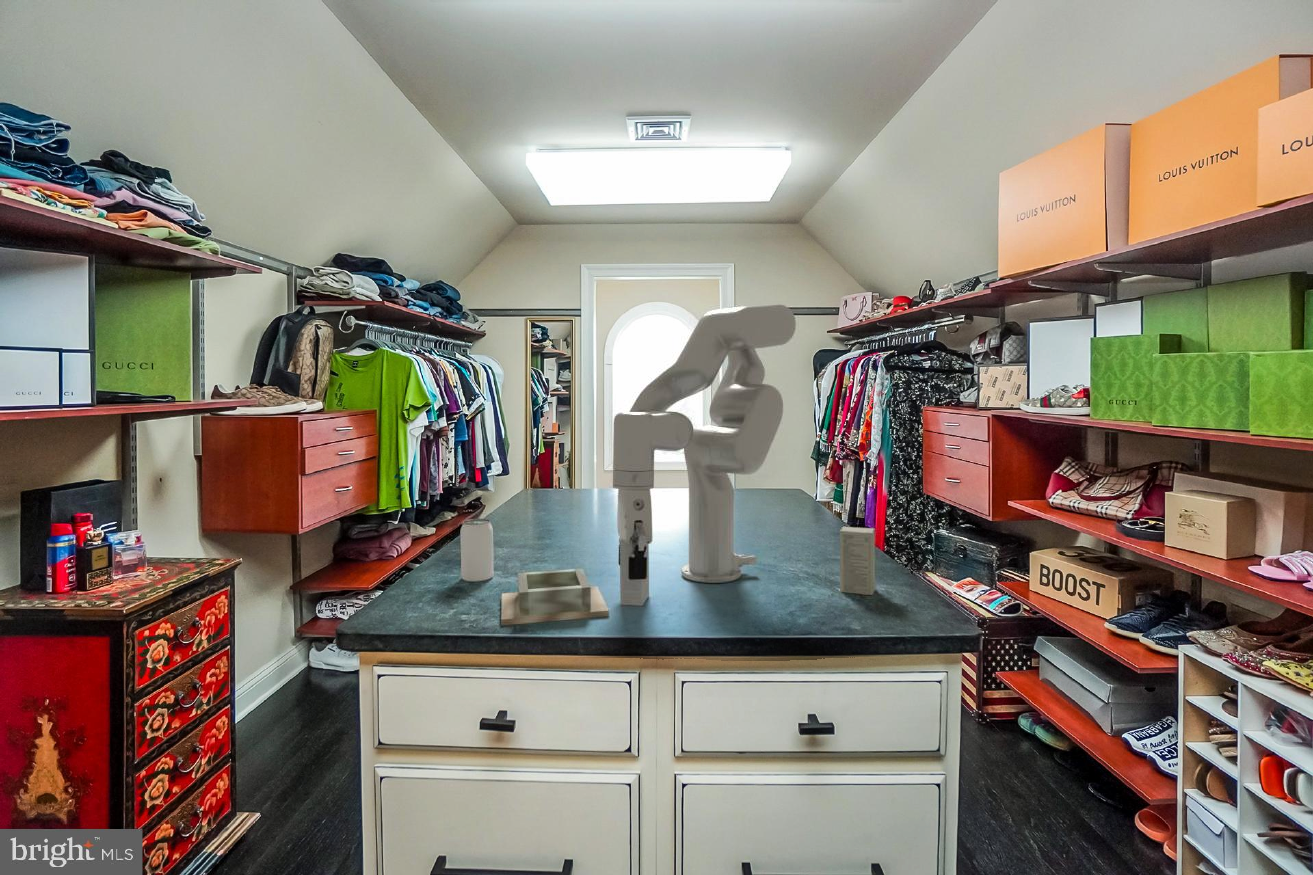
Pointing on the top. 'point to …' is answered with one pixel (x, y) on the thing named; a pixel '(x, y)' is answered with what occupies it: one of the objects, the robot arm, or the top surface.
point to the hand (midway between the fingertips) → (632, 571)
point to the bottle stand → (552, 598)
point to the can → (476, 550)
